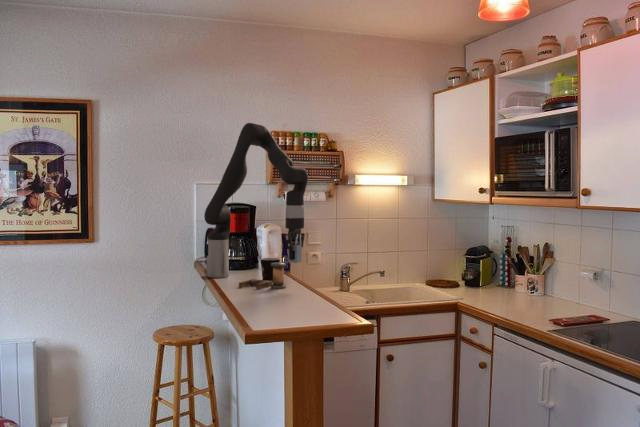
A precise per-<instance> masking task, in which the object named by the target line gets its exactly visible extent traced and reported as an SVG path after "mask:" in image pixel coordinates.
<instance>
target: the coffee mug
mask: <svg viewBox="0 0 640 427" xmlns="http://www.w3.org/2000/svg"><path fill="white" fill-rule="evenodd" d="M277 262H280V263H281V258H279V257H263V258H260V268H261V276H262V279H261V280H267V281H272V284H273V266H271V263H277Z"/></svg>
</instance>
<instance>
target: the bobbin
mask: <svg viewBox="0 0 640 427" xmlns="http://www.w3.org/2000/svg"><path fill="white" fill-rule="evenodd" d="M271 266H273V283H272V285H271V286H270V288H271V289H272V290H273V289H274V290H281V289H282V290H283V289H286V287H287V286H286V284H284V283H285V282H284V281H285V278H284V277H285V276H284V275H285V269H284V268H285V267H286V266H287V264H286V262H281V261H280V262H277V263H271Z"/></svg>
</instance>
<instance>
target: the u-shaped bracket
mask: <svg viewBox="0 0 640 427" xmlns="http://www.w3.org/2000/svg"><path fill="white" fill-rule="evenodd" d="M271 285H273V283H272V281H267V280H263V279H256V278H254V279H253V278H251V279H248V280H244V281H240V282H238V288H242V289H243V288H246V287H250V286H253V287H254V286H255V289H256V290H263V289H266V288H269V287H270V288H271Z"/></svg>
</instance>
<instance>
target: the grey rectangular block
mask: <svg viewBox="0 0 640 427" xmlns="http://www.w3.org/2000/svg"><path fill="white" fill-rule="evenodd" d="M288 246H289V244H288ZM302 249H303V247H302V245H297V244H296V245H295V250H294V251H295V260H290V259H289V250H288V249H287V251H288V252H287V263H292V264H298V263H302V259H303V258H302Z"/></svg>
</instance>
